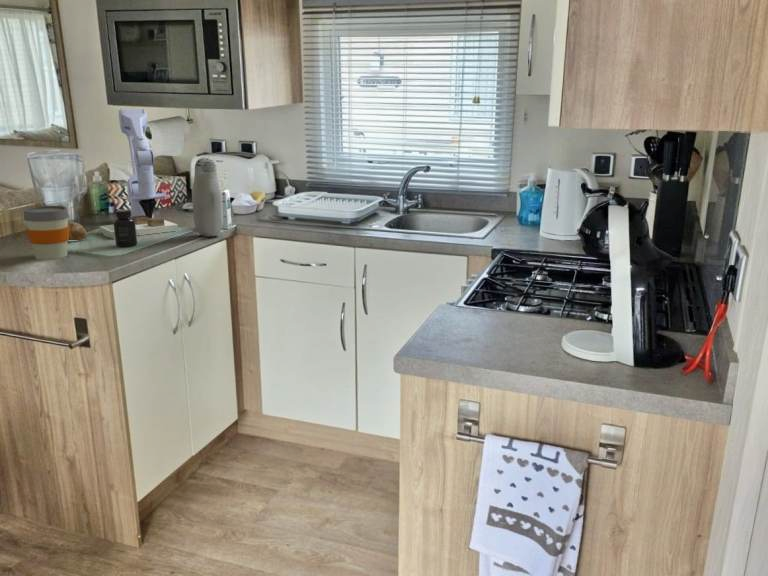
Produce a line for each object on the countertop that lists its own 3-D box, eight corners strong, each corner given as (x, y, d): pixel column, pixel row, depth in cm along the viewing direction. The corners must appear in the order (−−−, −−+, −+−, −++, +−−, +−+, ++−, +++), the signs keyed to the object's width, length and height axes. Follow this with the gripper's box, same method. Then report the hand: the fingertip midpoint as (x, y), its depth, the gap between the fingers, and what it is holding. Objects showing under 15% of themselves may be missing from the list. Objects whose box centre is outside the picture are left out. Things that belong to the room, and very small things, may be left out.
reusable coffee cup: (33, 252, 215) (27, 206, 210) (76, 250, 218) (70, 205, 214) (25, 262, 203) (18, 213, 199) (70, 260, 206) (64, 211, 202)
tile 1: (132, 223, 252) (131, 216, 251) (144, 221, 254) (143, 215, 254) (137, 224, 248) (136, 218, 248) (148, 223, 251) (148, 217, 250)
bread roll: (88, 250, 234) (95, 229, 235) (59, 242, 227) (67, 220, 227) (76, 246, 241) (83, 225, 241) (48, 237, 233) (55, 216, 234)
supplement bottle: (141, 244, 228) (138, 209, 225) (128, 248, 222) (124, 212, 219) (125, 242, 231) (121, 208, 227) (111, 246, 224) (107, 211, 221)
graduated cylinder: (228, 229, 255) (226, 191, 251) (213, 229, 255) (210, 191, 251) (232, 226, 260) (230, 189, 256) (217, 226, 260) (214, 189, 256)
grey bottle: (189, 236, 242) (184, 157, 234) (213, 232, 249) (209, 156, 242) (205, 240, 236) (200, 159, 228) (229, 236, 243) (225, 158, 235)
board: (124, 230, 251) (123, 223, 251) (162, 225, 261) (162, 219, 260) (138, 236, 241) (137, 229, 240) (178, 231, 251) (177, 224, 250)
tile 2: (147, 225, 248) (147, 218, 247) (159, 223, 251) (159, 217, 250) (152, 227, 245) (152, 220, 244) (164, 225, 247) (164, 219, 247)
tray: (99, 232, 246) (98, 226, 245) (124, 230, 251) (123, 223, 251) (113, 239, 236) (112, 232, 235) (138, 236, 241) (137, 229, 240)
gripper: (130, 186, 242) (134, 223, 246) (169, 182, 251) (172, 218, 255) (123, 183, 247) (127, 220, 251) (161, 181, 256) (164, 216, 260)
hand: (149, 219), depth 253 cm, fingers closed
